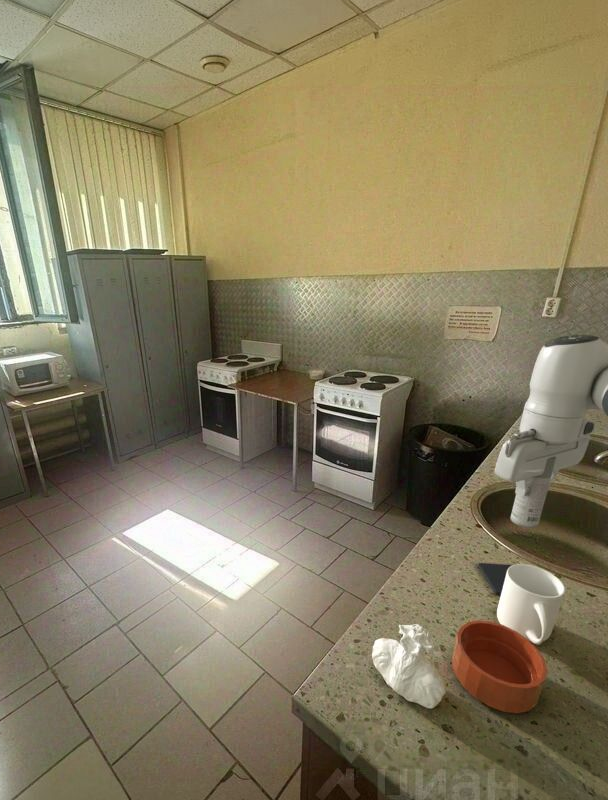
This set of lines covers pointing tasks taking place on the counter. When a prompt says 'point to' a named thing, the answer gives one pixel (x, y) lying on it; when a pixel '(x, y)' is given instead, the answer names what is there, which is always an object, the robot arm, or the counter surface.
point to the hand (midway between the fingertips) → (532, 491)
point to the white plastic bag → (410, 666)
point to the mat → (494, 575)
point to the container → (533, 499)
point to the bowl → (498, 666)
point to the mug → (530, 601)
